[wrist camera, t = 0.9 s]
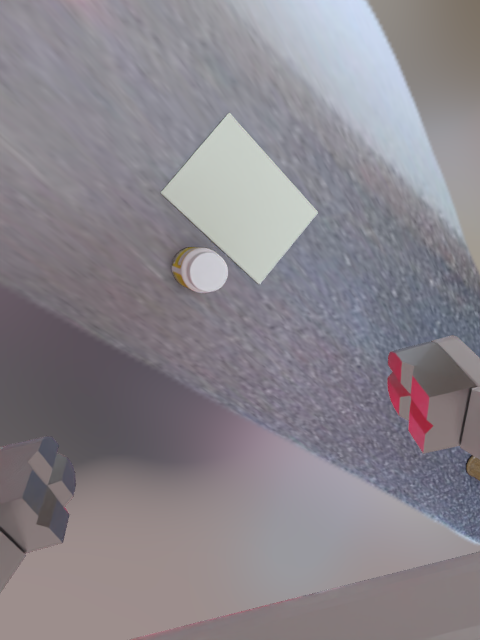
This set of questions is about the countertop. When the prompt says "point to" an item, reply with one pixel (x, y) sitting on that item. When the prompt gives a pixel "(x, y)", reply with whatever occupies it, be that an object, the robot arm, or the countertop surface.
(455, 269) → the countertop surface
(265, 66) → the countertop surface
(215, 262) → the supplement bottle
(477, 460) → the sprinkles bottle
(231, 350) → the countertop surface
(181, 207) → the rubber mat
